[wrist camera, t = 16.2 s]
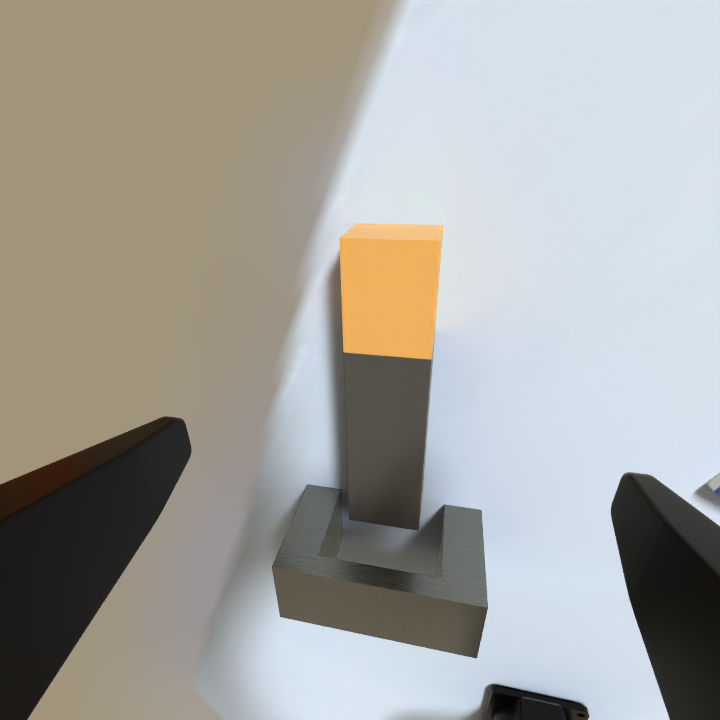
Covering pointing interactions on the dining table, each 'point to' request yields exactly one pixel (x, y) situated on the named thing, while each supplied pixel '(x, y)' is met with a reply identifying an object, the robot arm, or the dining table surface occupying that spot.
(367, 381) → the plug
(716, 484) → the hard drive
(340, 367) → the dining table surface
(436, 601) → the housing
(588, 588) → the dining table surface
